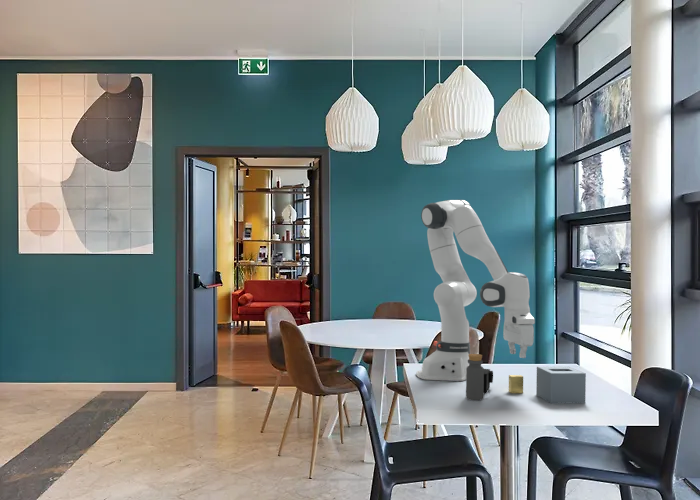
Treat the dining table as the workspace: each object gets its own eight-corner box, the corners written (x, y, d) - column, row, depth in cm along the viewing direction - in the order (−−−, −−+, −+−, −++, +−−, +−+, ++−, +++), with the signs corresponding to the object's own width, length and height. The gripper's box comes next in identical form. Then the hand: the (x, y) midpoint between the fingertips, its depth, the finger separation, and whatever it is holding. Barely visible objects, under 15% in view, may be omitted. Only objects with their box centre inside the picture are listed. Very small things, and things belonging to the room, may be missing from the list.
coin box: (550, 403, 196) (551, 373, 196) (536, 394, 207) (536, 366, 208) (585, 403, 197) (585, 373, 197) (568, 394, 209) (569, 366, 209)
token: (510, 393, 210) (511, 376, 210) (508, 391, 212) (508, 375, 212) (523, 393, 210) (523, 376, 210) (520, 391, 212) (520, 375, 212)
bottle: (480, 401, 196) (480, 356, 197) (463, 399, 199) (464, 355, 200) (485, 398, 201) (486, 354, 201) (469, 395, 204) (470, 352, 205)
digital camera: (489, 393, 208) (490, 374, 208) (474, 392, 210) (474, 372, 210) (493, 387, 218) (493, 369, 218) (478, 386, 220) (478, 368, 220)
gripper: (498, 315, 221) (499, 351, 221) (519, 319, 201) (519, 360, 200) (515, 314, 222) (515, 351, 221) (536, 319, 201) (537, 359, 201)
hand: (517, 355), depth 211 cm, fingers open, 8 cm apart
